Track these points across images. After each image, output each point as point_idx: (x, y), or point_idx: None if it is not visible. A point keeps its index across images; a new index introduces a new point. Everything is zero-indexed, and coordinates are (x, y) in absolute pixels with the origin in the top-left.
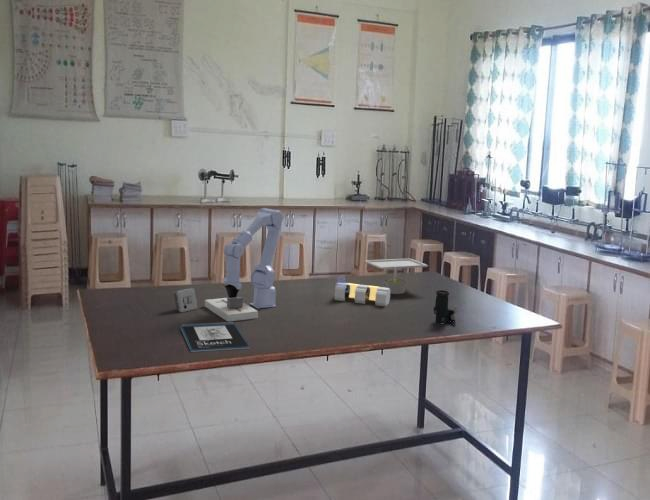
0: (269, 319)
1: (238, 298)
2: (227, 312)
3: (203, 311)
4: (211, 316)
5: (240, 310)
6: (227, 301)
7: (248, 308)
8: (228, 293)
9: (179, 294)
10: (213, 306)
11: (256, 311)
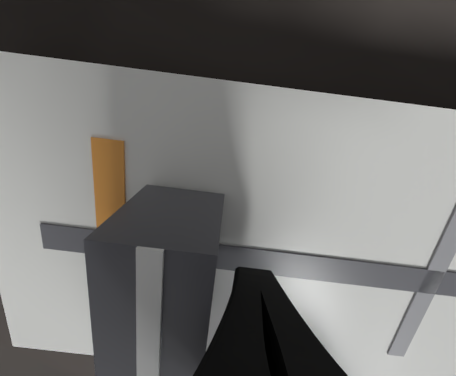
0: None
1: (107, 368)
2: (34, 92)
3: (431, 22)
4: (234, 5)
5: (64, 246)
6: (206, 222)
7: None
8: (290, 368)
9: None
10: (379, 101)
11: (10, 334)
